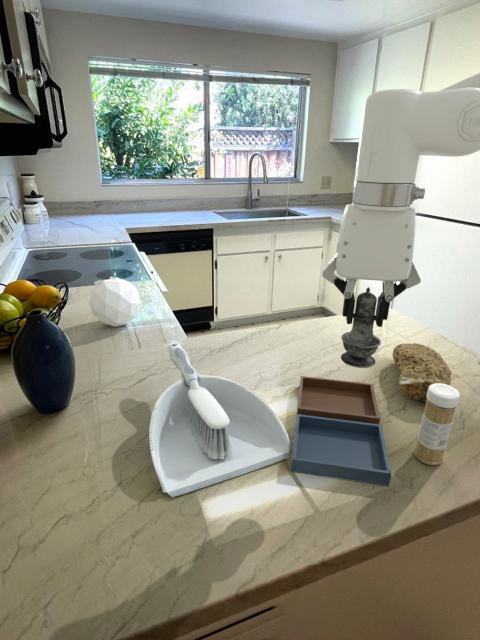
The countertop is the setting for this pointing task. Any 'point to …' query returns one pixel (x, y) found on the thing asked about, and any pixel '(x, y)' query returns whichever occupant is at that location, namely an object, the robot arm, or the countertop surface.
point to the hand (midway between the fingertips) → (363, 321)
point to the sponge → (419, 369)
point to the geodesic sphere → (114, 301)
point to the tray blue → (340, 450)
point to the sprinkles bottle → (436, 423)
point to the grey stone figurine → (361, 333)
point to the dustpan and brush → (210, 430)
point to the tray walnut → (338, 400)
